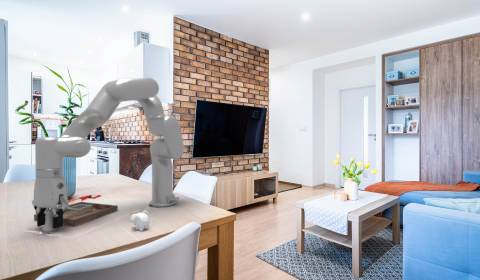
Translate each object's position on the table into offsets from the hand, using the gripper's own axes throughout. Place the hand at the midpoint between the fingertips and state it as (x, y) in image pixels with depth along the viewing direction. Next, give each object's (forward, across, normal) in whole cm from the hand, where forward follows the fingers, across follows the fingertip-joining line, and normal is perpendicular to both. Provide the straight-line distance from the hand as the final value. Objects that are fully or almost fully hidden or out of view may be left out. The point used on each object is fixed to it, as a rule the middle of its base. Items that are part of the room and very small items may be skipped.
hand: (50, 225), depth 87 cm
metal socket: (+1, +8, -18) cm, 20 cm away
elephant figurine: (+2, -27, -12) cm, 30 cm away
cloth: (+3, +28, -33) cm, 43 cm away
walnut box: (+2, +5, -15) cm, 16 cm away
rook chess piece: (+2, 0, 0) cm, 2 cm away
